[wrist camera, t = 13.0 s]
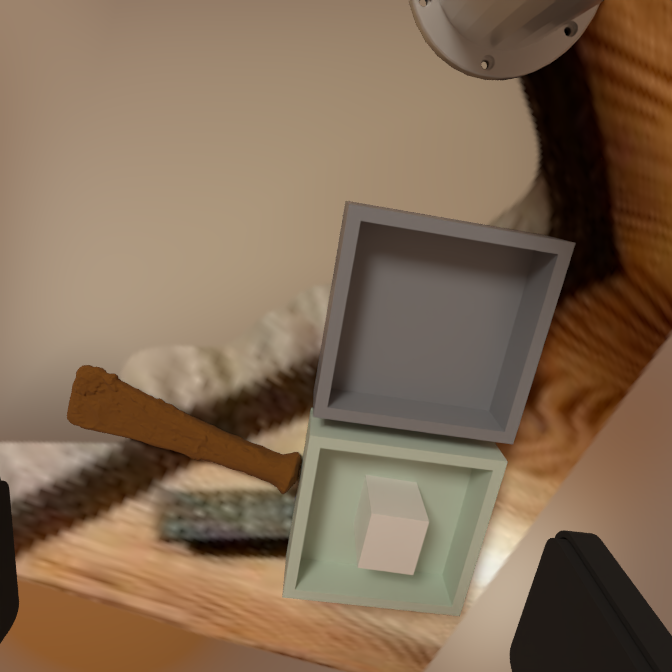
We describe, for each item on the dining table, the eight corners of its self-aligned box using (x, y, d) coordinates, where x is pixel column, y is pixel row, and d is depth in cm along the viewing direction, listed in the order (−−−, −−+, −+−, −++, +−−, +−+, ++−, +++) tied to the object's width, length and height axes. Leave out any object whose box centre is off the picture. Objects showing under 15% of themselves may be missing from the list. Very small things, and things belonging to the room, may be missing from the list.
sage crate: (311, 408, 40) (309, 435, 36) (488, 432, 41) (507, 461, 37) (285, 557, 45) (282, 597, 40) (446, 575, 46) (459, 616, 41)
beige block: (365, 474, 41) (371, 513, 36) (416, 482, 41) (429, 521, 37) (353, 523, 43) (357, 567, 38) (402, 531, 43) (413, 575, 38)
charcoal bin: (345, 200, 35) (349, 203, 31) (545, 235, 36) (575, 242, 32) (313, 391, 40) (313, 417, 35) (492, 416, 41) (513, 444, 37)
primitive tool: (68, 419, 40) (45, 440, 37) (80, 359, 39) (58, 375, 35) (293, 481, 43) (291, 506, 39) (313, 427, 41) (312, 448, 38)
